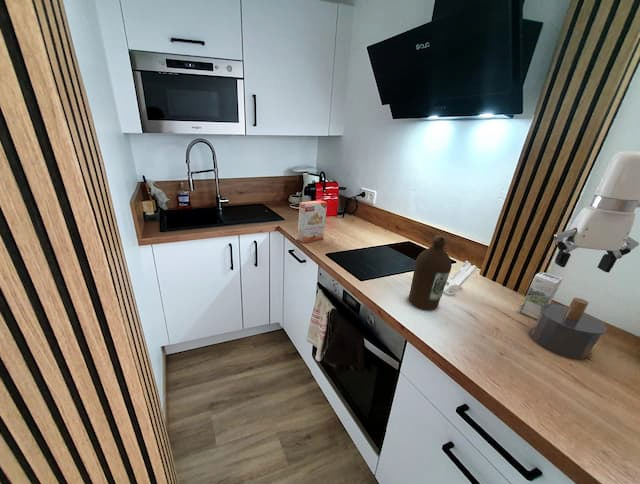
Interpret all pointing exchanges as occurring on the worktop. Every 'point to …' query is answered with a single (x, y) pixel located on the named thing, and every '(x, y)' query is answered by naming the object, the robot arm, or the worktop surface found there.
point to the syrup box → (540, 294)
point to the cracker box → (311, 221)
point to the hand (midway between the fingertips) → (580, 267)
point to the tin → (562, 339)
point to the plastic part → (458, 278)
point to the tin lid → (574, 317)
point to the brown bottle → (430, 275)
